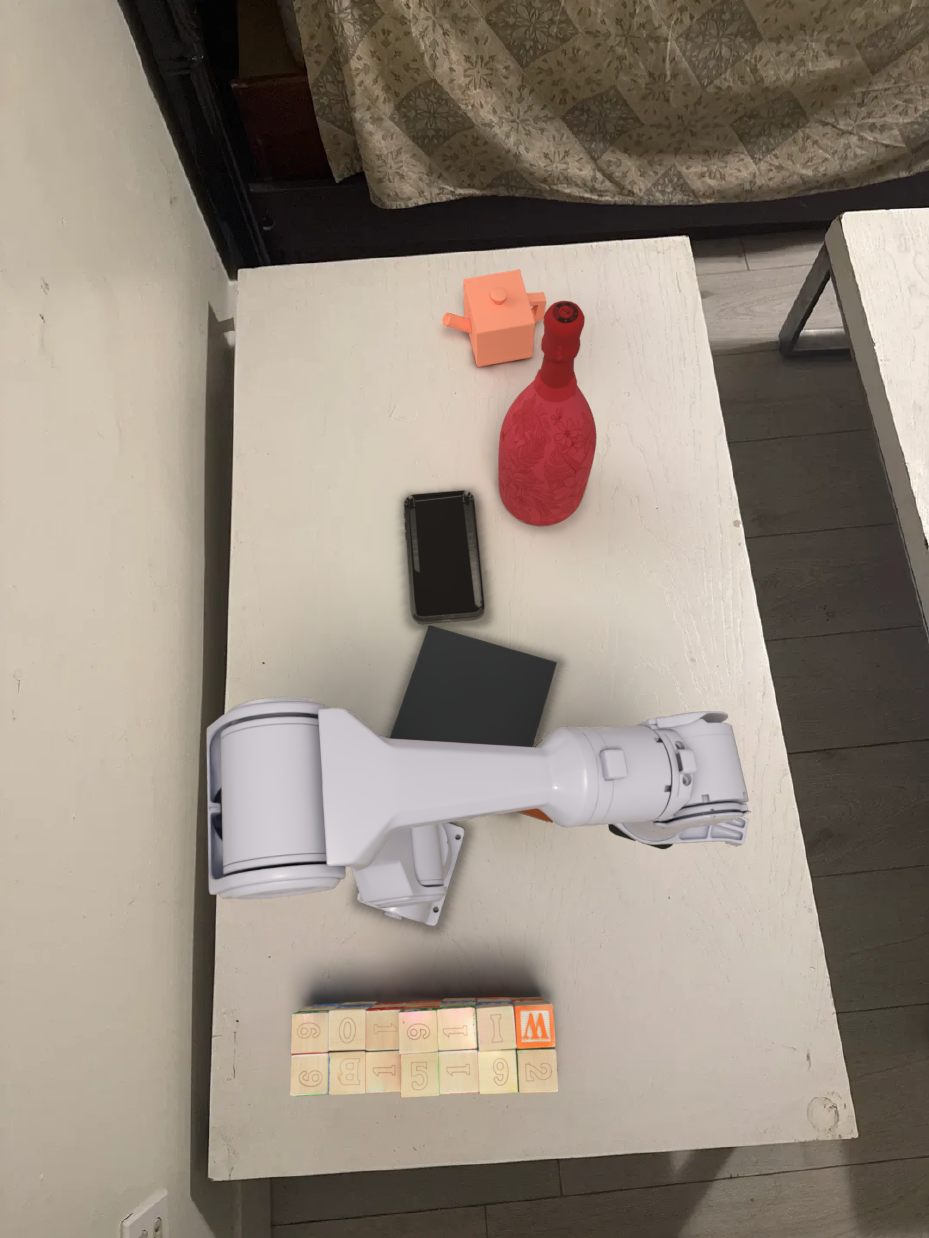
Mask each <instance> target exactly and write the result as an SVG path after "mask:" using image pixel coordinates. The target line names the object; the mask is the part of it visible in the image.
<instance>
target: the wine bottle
mask: <svg viewBox="0 0 929 1238" xmlns="http://www.w3.org/2000/svg"><path fill="white" fill-rule="evenodd" d="M585 318H586V316H585V314H584V313H583V310H582V309H581V307H580V306H579V305H578V304H577V303H575V302H573V301H570V300H559V301H555V302H553V303H552V304H551V305H549V307H548V308H547V309H546V310H545V314H544V319H543V320H542V321H543V322H542V323H543V335H542V337H541V341H540V350H541V351H542V353H543V357H542V362H541V367H540V368H539V369H538V370H537V372H536V375H535V377H534V379H533V380H532V382H530V383H529V384H528V385H527V386H525V388H524V389H523V390H522V391H521V392H520V393H519V394H518V395H517V396H516V398H515V399H514V401H513V402H512V403H511V405H510V406H509V408H508V410H507V412H506V414H505V416H504V418H503V421H502V423H501V427H500V432H499V439H498V441H499V442H498V454H497V455H498V462H497V463H498V465H497V466H498V467H497V469H498V470H497V471H498V490H499V495H500V498H501V501H502V503H503V505H504V507H505V508H506V510H507V511H508V512H509V513H510V515H512V516H513V517H514V518H516V519H517V520H519V521H521V522H523V523H525V524H529V525H532V526H537V527H538V526H540V527H544V526H545V527H546V526H552V525H556V524H559V523H561V522H563V521H565V520H566V519H568V518H569V517H571V516H572V515H573V514H574V513H575V512H576V511H577V509H578V508H579V506H580V504H581V503H582V501H583V498H584V496H585V492H586V490H587V485H588V483H589V478H590V475H591V471H592V467H593V464H594V459H595V454H596V449H597V448H596V447H597V426H596V422H595V417H594V414H593V412H592V409H591V407H590V404H589V402H588V401H587V398H586V396H585V394H584V393H583V392H582V390H581V389H580V387H579V385H578V379H577V376H576V372H575V359H576V358H577V356H578V355H579V352H580V348H581V335H582V333H583V332H582V331H583V329H584V327H585V320H586V319H585Z"/></svg>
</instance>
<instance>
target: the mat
mask: <svg viewBox="0 0 929 1238" xmlns="http://www.w3.org/2000/svg"><path fill="white" fill-rule="evenodd" d="M556 667H557V661H553V660H550V659H547V658H543V657H540V656H536V655H533V654H531V653H526V652H523V651H519V650H516V649H512V648H509V647H505V646H502V645H499V644H495V643H493V642H488V641H485V640H481V639H479V638H474V637H471V636H468V635H464V634H461V633H457V632H454V631H450V630H448V629H447V630H446V629H443V628H439V627H436V626H433V625H430V624H428V627H427V629H426V633H425V636H424V639H423V642H422V645H421V648H420V651H419V653H418V656H417V659H416V661H415V665H414V668H413V671H412V674H411V677H410V679H409V683H408V686H407V688H406V691H405V694H404V697H403V699H402V702H401V705H400V709H399V711H398V714H397V717H396V720H395V723H394V726H393V729H392V732H391V735H390V737H389V738H390V739H405V740H421V741H438V742H454V743H470V744H486V745H503V746H520V747H534V743H535V740H536V737H537V733H538V729H539V725H540V722H541V719H542V716H543V712H544V709H545V706H546V702H547V698H548V694H549V692H550V688H551V685H552V680H553V677H554V674H555V670H556Z"/></svg>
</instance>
